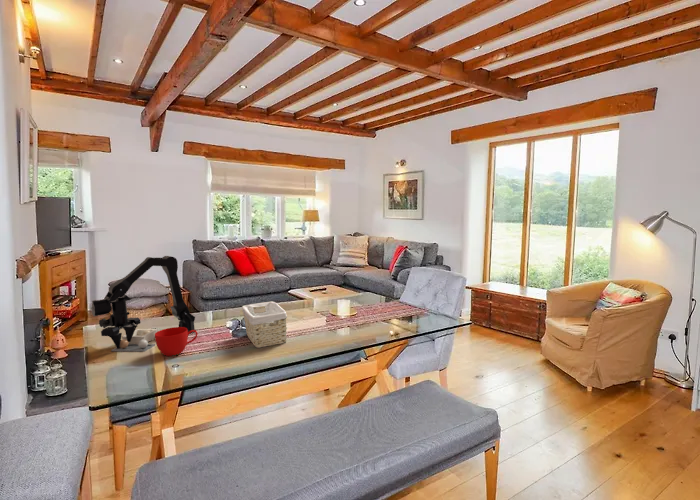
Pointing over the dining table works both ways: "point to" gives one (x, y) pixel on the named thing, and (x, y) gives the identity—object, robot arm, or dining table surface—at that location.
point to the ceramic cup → (173, 340)
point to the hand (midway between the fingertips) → (123, 344)
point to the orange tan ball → (124, 343)
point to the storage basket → (265, 324)
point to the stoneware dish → (138, 336)
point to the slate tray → (133, 348)
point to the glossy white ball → (143, 344)
